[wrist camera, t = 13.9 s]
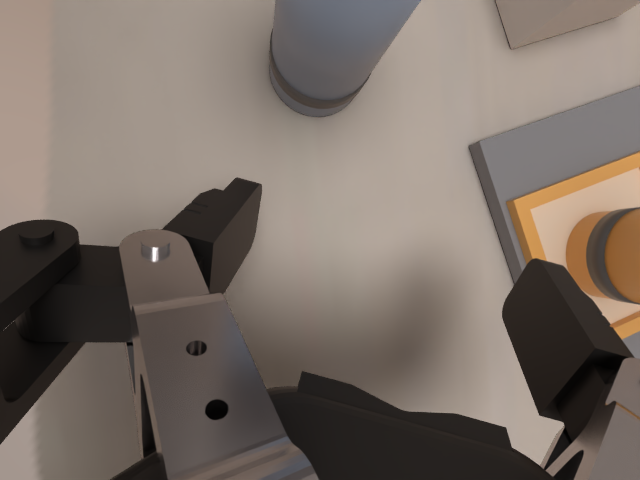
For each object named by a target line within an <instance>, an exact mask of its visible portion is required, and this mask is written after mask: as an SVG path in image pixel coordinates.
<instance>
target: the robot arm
mask: <svg viewBox="0 0 640 480" xmlns="http://www.w3.org/2000/svg"><path fill="white" fill-rule="evenodd" d="M261 194H262V185H261V184H259V183H256V182H252V181H248V180H244V179H241V178H235V179H234V180H233V181H232V182H231V183H230V184H229V185H228V186H227V187H226V188H225V189H224V191H222V190H218V189H212V190H209V191H206V192H203V193H201V194H199V195H198V196H197V197H196V198H195V199H194V200H193V201H192V203H190V204H189V205H188V206H186V207H185V208H184V210H182V211H181V212H180V213H179V214H178V215H177V216H176V217H175V218H174V219H172V220H171V221H170V222H169V223H168V224H167V225H166V226H165V227H164V228H163V229H162V230H158V229H153V230H143V231H139V232H136V233H133V234H131V235H129V236H127V237H126V238H124V239H123V240H122V242H121V243H120V246H119V247H109V246H94V245H80V244H79V236H78V232H77V230H76V229H75V228H74V227H73V226H71V225H70V224H67V223H64V222H61V221H56V220H32V221H26V222H21V223H17V224H14V225H11V226H9V227H7V228H5V229H3V230H1V231H0V444H1V443H2V442H3V441H4V439H5V438H6V437H7V436H8V435H9V433H10V432H11V431H12V430H13V429H14V427H15V426H16V425H17V424H18V423H19V421H20V420H21V419H22V418H23V417H24V415H25V414H26V413H27V412H28V411H29V409H30V408H31V407H32V406H33V405H34V403H35V402H36V401H37V400H38V399H39V397H40V396H41V395H42V394H43V393H44V392H45V390H46V389H47V388H48V387H49V386H50V384H51V383H52V382H53V381H54V380H55V378H56V377H57V376H58V375H59V374H60V372H61V371H62V370H63V369H64V368H65V366H66V365H67V364H68V363H69V362H70V360H71V359H72V358H73V357H74V356H75V354H76V353H77V352H78V351H79V350H80V348H81V347H82V346H83V345H84V344H85V342H125V348H126V354H127V361H128V367H129V373H130V380H131V386H132V392H133V399H134V405H135V412H136V421H137V432H138V440H139V448H140V455H141V460H140V461H139V462H137V463H136V464H134V465H132V466H131V467H129V468H128V469H126V470H124V471H123V472H121V473H120V474H118V475H116V476H115V477H113V478H112V479H110V480H640V359H639V358H635V357H634V356H633V354H632V353H631V352H630V350H629V349H628V348H627V346H626V345H625V343H624V342H623V341H622V339H621V338H620V337H619V335H618V334H617V332H616V331H615V330H614V328H613V327H610V325H611V324H610V323H609V321H608V320H607V319H606V317H605V316H603V315H602V312H601V311H600V309H599V308H598V306H597V305H596V304H595V302H594V301H593V300H592V299H591V298H590V297H589V296H588V295H586V294H585V293H584V292H583V291H582V290H581V289H580V287H579V286H578V285H577V283H576V282H575V280H574V279H573V278H572V276H571V275H570V273H569V272H568V271H567V269H566V268H565V267H564V266H563V265H560V264H556V263H552V262H548V261H545V260H541V259H537V258H534V259H532V260H530V261H529V262H528V264H527V265H526V267H525V268H524V270H523V272H522V273H521V275H520V276H519V278H518V280H517V281H516V283H515V285H514V286H513V288H512V290H511V291H510V293H509V295H508V296H507V298H506V300H505V302H504V305H503V310H502V318H503V321H504V324H505V327H506V329H507V332H508V335H509V337H510V340H511V342H512V345H513V348H514V350H515V353H516V355H517V358H518V361H519V363H520V366H521V369H522V371H523V374H524V376H525V379H526V382H527V384H528V387H529V389H530V392H531V395H532V397H533V400H534V403H535V405H536V408H537V410H538V413H539V415H540V416H543V417H547V418H550V419H554V420H558V421H561V422H563V423H564V426H563V428H562V429H561V430H560V431H559V432H558V433H557V434H556V436H555V438H554V440H553V442H552V443H551V445H550V447H549V449H548V451H547V453H546V455H545V457H544V459H543V461H542V463H541V464H540V466H539V465H538V464H537V463H535V462H534V461H533V460H531V459H530V458H528V457H527V456H525V455H524V454H522V453H520V452H519V451H517V450H515V449H513V448H512V447H511V443H510V440H509V436H508V433H507V429H506V427H502V426H498V425H495V424H491V423H488V422H484V421H480V420H477V419H473V418H470V417H466V416H462V415H459V414H453V413H428V412H407V411H403V410H400V409H398V408H396V407H394V406H392V405H390V404H388V403H386V402H384V401H382V400H380V399H378V398H377V397H375V396H373V395H371V394H369V393H367V392H365V391H363V390H361V389H359V388H357V387H355V386H353V385H351V384H347V383H343V382H340V381H336V380H333V379H329V378H325V377H322V376H318V375H315V374H311V373H307V372H304V371H302V373H301V377H300V380H299V384H298V387H292V386H286V387H275V388H269V389H266V388H265V385H264V383H263V381H262V379H261V377H260V374H259V372H258V370H257V368H256V366H255V363H254V361H253V359H252V357H251V355H250V352H249V350H248V348H247V346H246V343H245V341H244V339H243V337H242V335H241V332H240V330H239V328H238V326H237V324H236V321H235V319H234V317H233V315H232V313H231V310H230V308H229V306H228V304H227V302H226V299H225V297H224V296H223V294H224V292H225V291H226V289H227V287H228V286H229V284H230V282H231V280H232V279H233V277H234V275H235V274H236V272H237V270H238V269H239V267H240V265H241V264H242V262H243V260H244V259H245V257H246V255H247V254H248V252H249V250H250V248H251V246H252V243H253V240H254V237H255V233H256V227H257V220H258V214H259V207H260V201H261ZM14 320H15V321H14ZM13 321H14V322H13ZM8 325H9V326H8ZM7 326H8V327H7ZM6 327H7V328H6ZM5 328H6V329H5Z"/></svg>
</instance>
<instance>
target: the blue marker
mask: <svg viewBox="0 0 640 480" xmlns="http://www.w3.org/2000/svg"><path fill="white" fill-rule="evenodd" d="M420 1H421V0H276V1H275V12H274V22H273V29H272V33H271V40H270V50H269V59H270V65H269V67H270V78H271V81H272V84H273V87H274V89H275V91H276V92H277V94H278V96H279V97H280V98H281V100H282V101H283V102H284V103H285V104H286V105H288V106H289V107H290V108H292V109H293V110H295V111H297V112H299V113H301V114H304V115H307V116H313V117H323V116H329V115H332V114H335V113H337V112H339V111H341V110H342V109H343V108H345V107H346V106H347V105H348V104H349V103H350V102H351V100H352V99H353V98H354V97H355V96H356V95H357V94H358V92H359V91H360V90H361V88H362V87H363V86H364V84H365V83H366V81H367V80H368V78H369V76H370V74H371V72H372V70H373V69H374V67H375V66H376V64H377V63H378V62H379V60H380V59H381V57H382V56H383V54H384V53H385V51H386V50H387V49H388V47H389V46H390V44H391V43H392V41H393V40H394V38H395V37H396V36H397V34H398V33H399V31H400V30H401V28H402V27H403V25H404V24H405V23H406V21H407V20H408V18H409V17H410V15H411V14H412V12H413V11H414V10H415V8H416V7H417V5H418V4H419V2H420Z"/></svg>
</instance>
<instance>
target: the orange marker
mask: <svg viewBox="0 0 640 480" xmlns="http://www.w3.org/2000/svg"><path fill="white" fill-rule="evenodd" d="M566 263H567V267H568V271H569V273H570V275H571V276H572V278H573V279H574V280H575V282H576V283H577V285H578V286H579V287H580V289H581V290H583V291H584V292H586V293H587V294H590V295H592V296H596V297H602V298H608V299H613V300H616V301H620V302H626V303H632V304H638V305H640V207H636V208H625V209H618V210H615V211H606V212H597V213H593V214H590V215H588V216H586V217H584V218H583V219H581V220H580V221H579V222H578V223H577V224H576V226H575V227H574V228H573V230H572V232H571V234H570V236H569V238H568V241H567V246H566Z"/></svg>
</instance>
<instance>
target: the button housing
mask: <svg viewBox="0 0 640 480" xmlns="http://www.w3.org/2000/svg"><path fill="white" fill-rule="evenodd" d="M495 1H496V4H497V7H498V10H499V13H500V16H501V19H502V23H503V26H504V29H505V32H506V35H507V38H508V41H509V44H510V47H511V49H514V48H517V47H521V46H524V45H527V44H530V43H534V42H537V41H540V40H543V39H547V38H550V37H553V36H556V35H560V34H563V33H566V32H569V31H573V30H576V29H579V28H583V27H586V26H589V25H592V24H596V23H599V22H602V21H605V20H609V19H612V18H615V17H618V16H619V15H621V14H623V13H624V12H626V11H627V10H629V9H631V8H632V7H634V6H636V5H637V4H639V3H640V0H495Z"/></svg>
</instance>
